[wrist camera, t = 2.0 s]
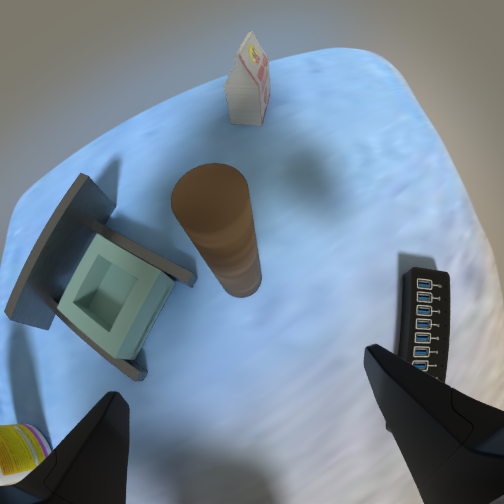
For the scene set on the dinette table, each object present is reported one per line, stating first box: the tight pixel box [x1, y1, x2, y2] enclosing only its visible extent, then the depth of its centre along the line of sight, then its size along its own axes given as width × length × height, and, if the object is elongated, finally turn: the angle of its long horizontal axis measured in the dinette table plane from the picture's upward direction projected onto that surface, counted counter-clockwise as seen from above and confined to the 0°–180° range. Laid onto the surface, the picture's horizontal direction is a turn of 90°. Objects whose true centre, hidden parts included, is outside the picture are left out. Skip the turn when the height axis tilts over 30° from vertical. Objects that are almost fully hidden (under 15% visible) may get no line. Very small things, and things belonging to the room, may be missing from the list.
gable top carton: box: [224, 31, 270, 126], centre depth 27 cm, size 4×7×10 cm, turn 169°
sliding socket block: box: [57, 234, 176, 360], centre depth 22 cm, size 8×8×4 cm
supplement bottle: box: [0, 424, 51, 486], centre depth 12 cm, size 7×7×13 cm
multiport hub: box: [386, 267, 450, 433], centre depth 20 cm, size 4×14×2 cm, turn 170°
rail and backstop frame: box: [4, 173, 197, 381], centre depth 22 cm, size 14×16×6 cm
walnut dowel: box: [171, 163, 262, 298], centre depth 18 cm, size 4×4×13 cm
